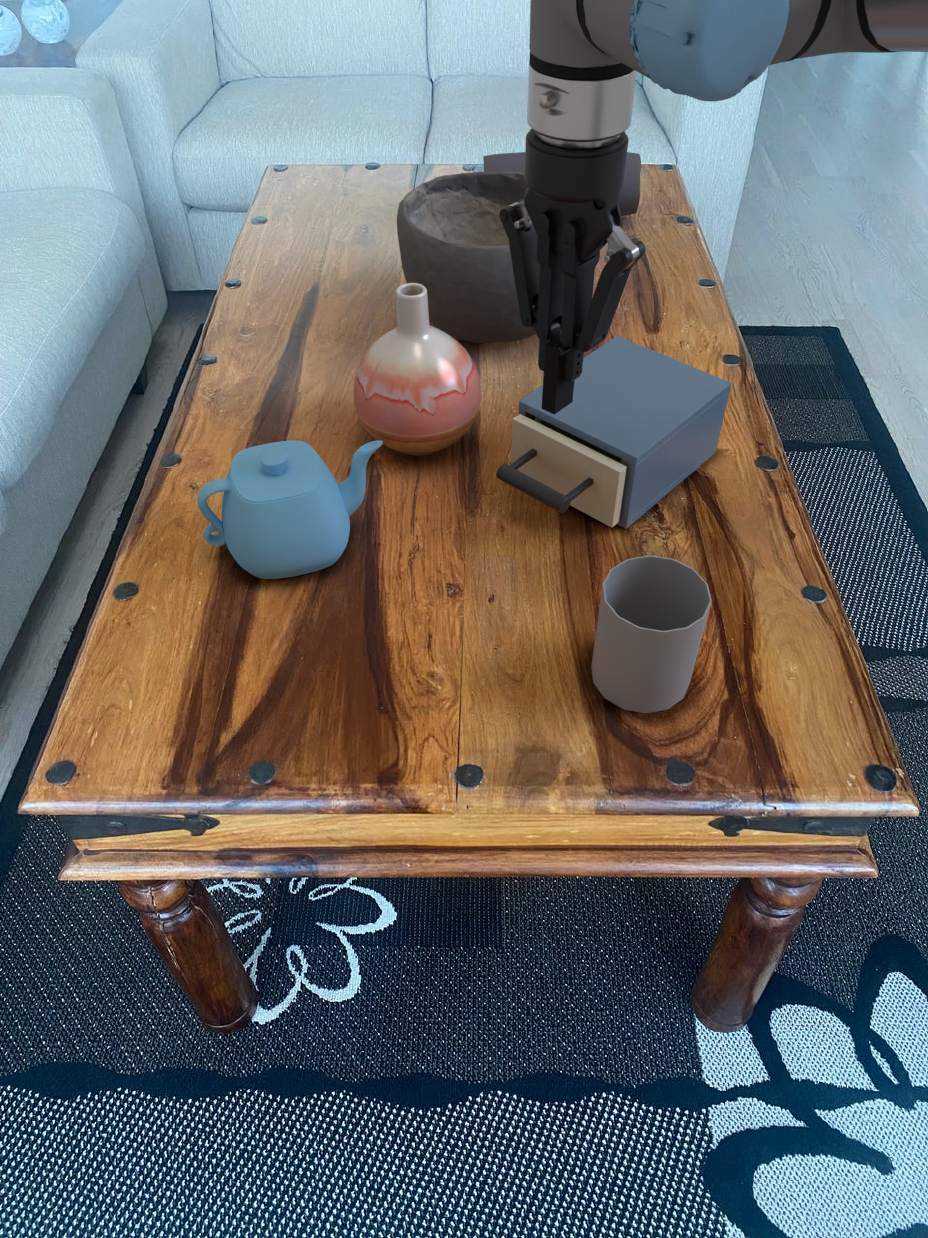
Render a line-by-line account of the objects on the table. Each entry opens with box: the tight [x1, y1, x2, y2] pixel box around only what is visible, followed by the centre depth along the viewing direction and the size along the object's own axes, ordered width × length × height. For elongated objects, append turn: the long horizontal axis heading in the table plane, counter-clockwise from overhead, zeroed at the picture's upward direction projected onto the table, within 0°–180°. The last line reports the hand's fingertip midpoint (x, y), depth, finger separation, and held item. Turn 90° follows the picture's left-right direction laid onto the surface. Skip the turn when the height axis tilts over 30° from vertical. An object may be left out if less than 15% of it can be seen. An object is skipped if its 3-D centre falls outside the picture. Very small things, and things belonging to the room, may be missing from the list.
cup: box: [590, 554, 713, 714], centre depth 75 cm, size 8×8×10 cm
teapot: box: [196, 439, 383, 580], centre depth 87 cm, size 13×11×18 cm
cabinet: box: [518, 335, 732, 530], centre depth 96 cm, size 17×14×9 cm
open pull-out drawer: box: [495, 413, 628, 528], centre depth 94 cm, size 21×13×7 cm, turn 138°
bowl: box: [396, 171, 537, 344], centre depth 115 cm, size 24×24×15 cm
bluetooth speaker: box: [482, 151, 642, 217], centre depth 137 cm, size 23×9×10 cm, turn 90°
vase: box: [352, 282, 482, 457], centre depth 96 cm, size 14×14×18 cm
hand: (557, 404), depth 84 cm, fingers closed
